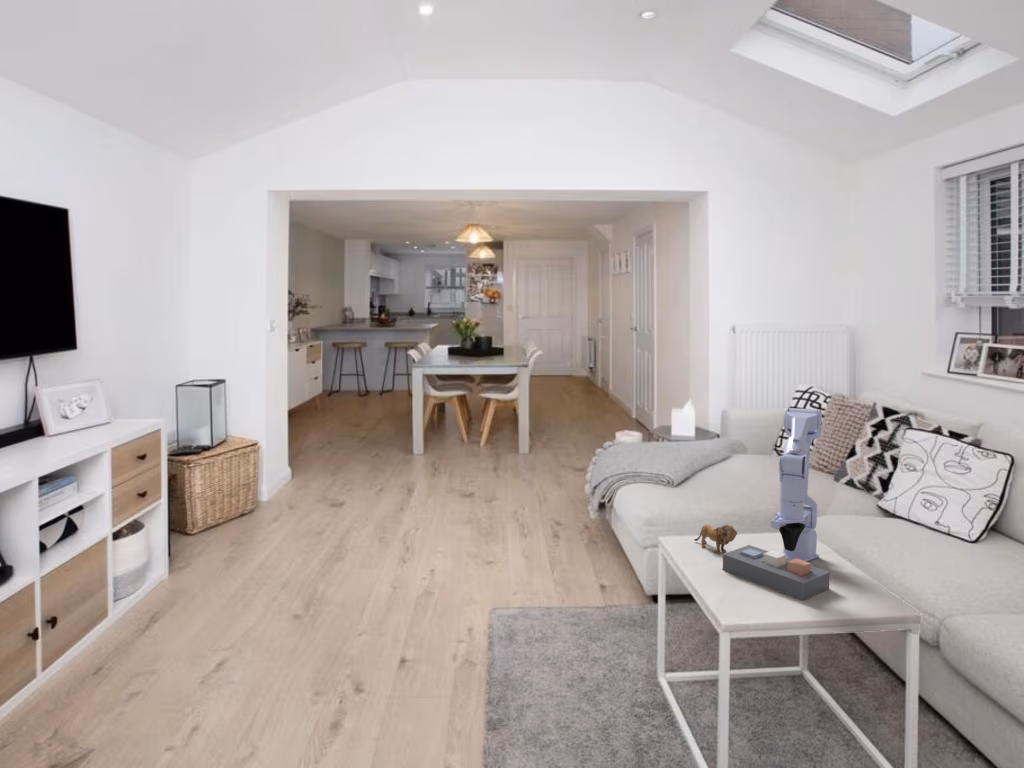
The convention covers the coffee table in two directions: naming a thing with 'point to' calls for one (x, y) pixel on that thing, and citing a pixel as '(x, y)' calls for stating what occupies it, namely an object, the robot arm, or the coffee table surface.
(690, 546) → the coffee table surface
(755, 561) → the key housing
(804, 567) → the red key
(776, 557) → the white key
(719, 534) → the lion figurine
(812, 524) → the robot arm
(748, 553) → the blue key
